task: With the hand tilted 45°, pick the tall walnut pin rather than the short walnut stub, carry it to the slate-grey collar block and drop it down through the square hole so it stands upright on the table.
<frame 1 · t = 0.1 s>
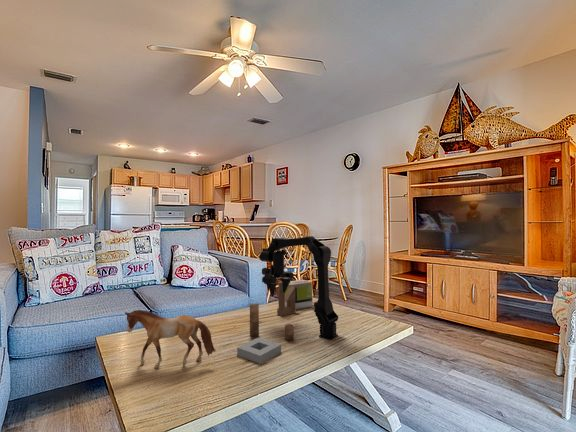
hand: (278, 294, 152), 15 cm above the table, tool pointing down, fingers open, 9 cm apart
tall walnut pin: (254, 336, 136), on the table
slate collar block: (259, 353, 118), on the table
horse figurine: (171, 369, 107), on the table
wooden block: (286, 314, 168), on the table
short walnut stub: (289, 339, 132), on the table
tea box: (297, 306, 182), on the table
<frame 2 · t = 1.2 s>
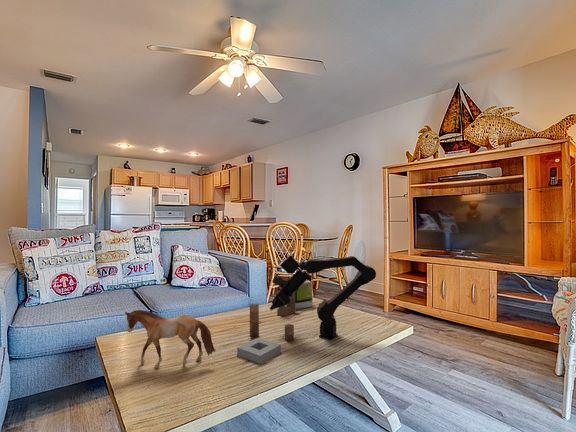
hand: (271, 306, 136), 13 cm above the table, tool tilted 45°, fingers open, 9 cm apart
nothing on the table moved.
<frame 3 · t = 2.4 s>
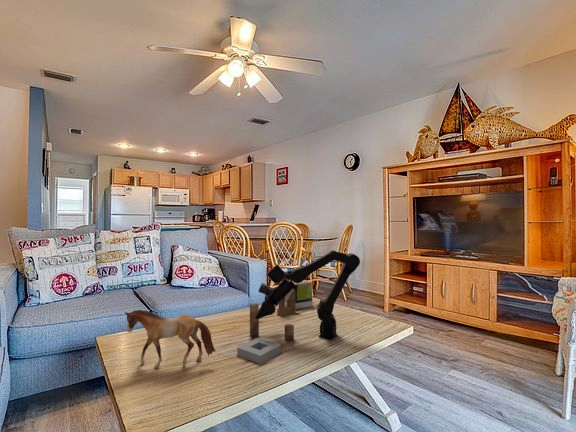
hand: (257, 315, 136), 9 cm above the table, tool tilted 45°, fingers open, 9 cm apart
nothing on the table moved.
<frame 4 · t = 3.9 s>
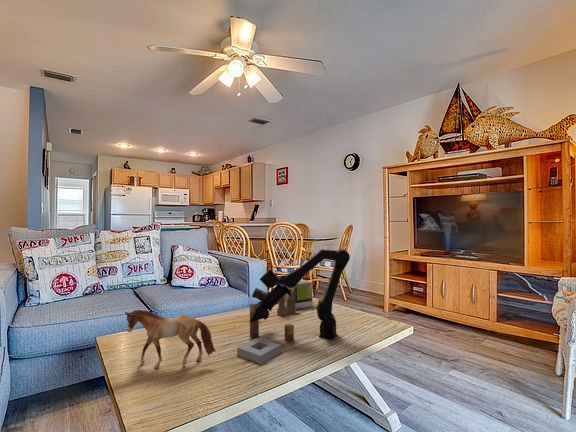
hand: (251, 320, 136), 7 cm above the table, tool tilted 45°, fingers closed on tall walnut pin, 4 cm apart
tall walnut pin: (254, 336, 136), on the table, touching gripper
everything else where it was.
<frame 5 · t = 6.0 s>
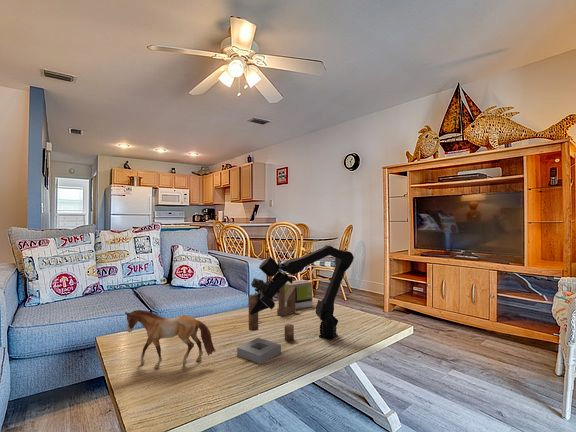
hand: (250, 312, 126), 13 cm above the table, tool tilted 45°, fingers closed on tall walnut pin, 4 cm apart
tall walnut pin: (253, 329, 127), point 6 cm above the table, touching gripper
everything else where it was.
when the fingers open (9 cm above the table, at t = 8.1 s): tall walnut pin drops 2 cm, resting in slate collar block.
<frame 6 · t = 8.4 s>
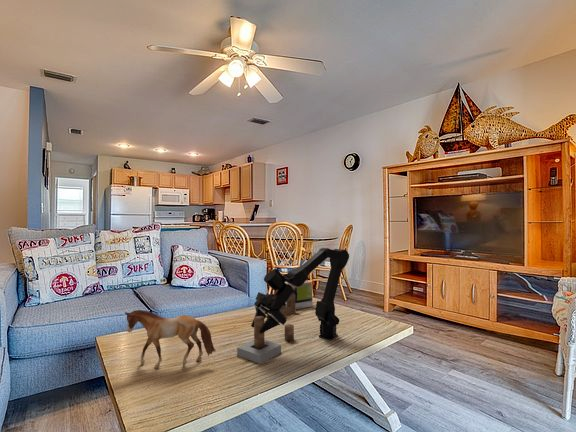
hand: (255, 329, 117), 10 cm above the table, tool tilted 45°, fingers open, 7 cm apart
tall walnut pin: (259, 353, 118), resting in slate collar block
everything else where it was.
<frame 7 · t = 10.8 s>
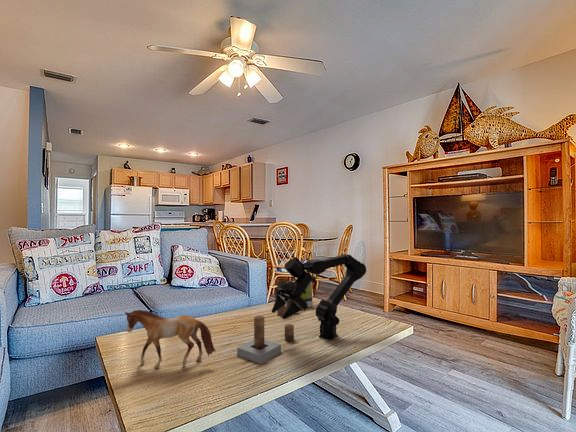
hand: (277, 315, 122), 14 cm above the table, tool tilted 45°, fingers open, 9 cm apart
nothing on the table moved.
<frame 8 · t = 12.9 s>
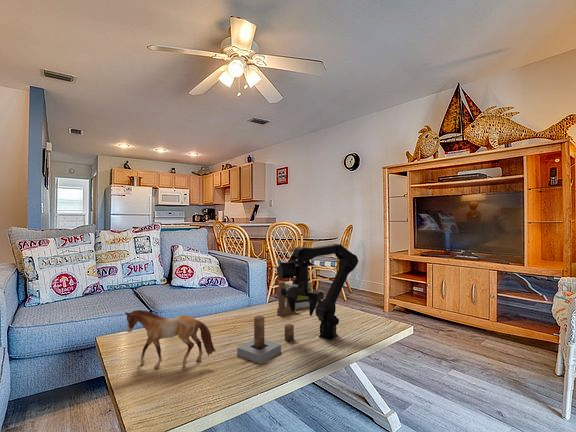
hand: (301, 313, 129), 12 cm above the table, tool pointing down, fingers open, 9 cm apart
nothing on the table moved.
at the end: tall walnut pin 0.0 cm off-centre on the slate collar block, point 0.0 cm above the slate collar block's base; tall walnut pin tilted 0°; short walnut stub moved 0.0 cm from its start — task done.
